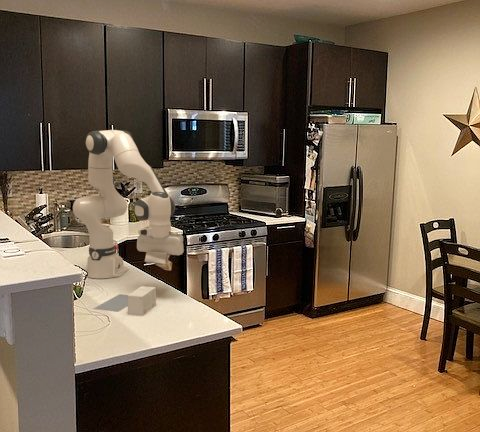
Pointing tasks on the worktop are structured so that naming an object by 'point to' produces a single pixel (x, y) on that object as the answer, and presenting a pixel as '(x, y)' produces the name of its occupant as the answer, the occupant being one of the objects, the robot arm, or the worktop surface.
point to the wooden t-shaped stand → (158, 259)
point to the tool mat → (114, 303)
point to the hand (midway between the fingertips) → (160, 263)
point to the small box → (141, 300)
